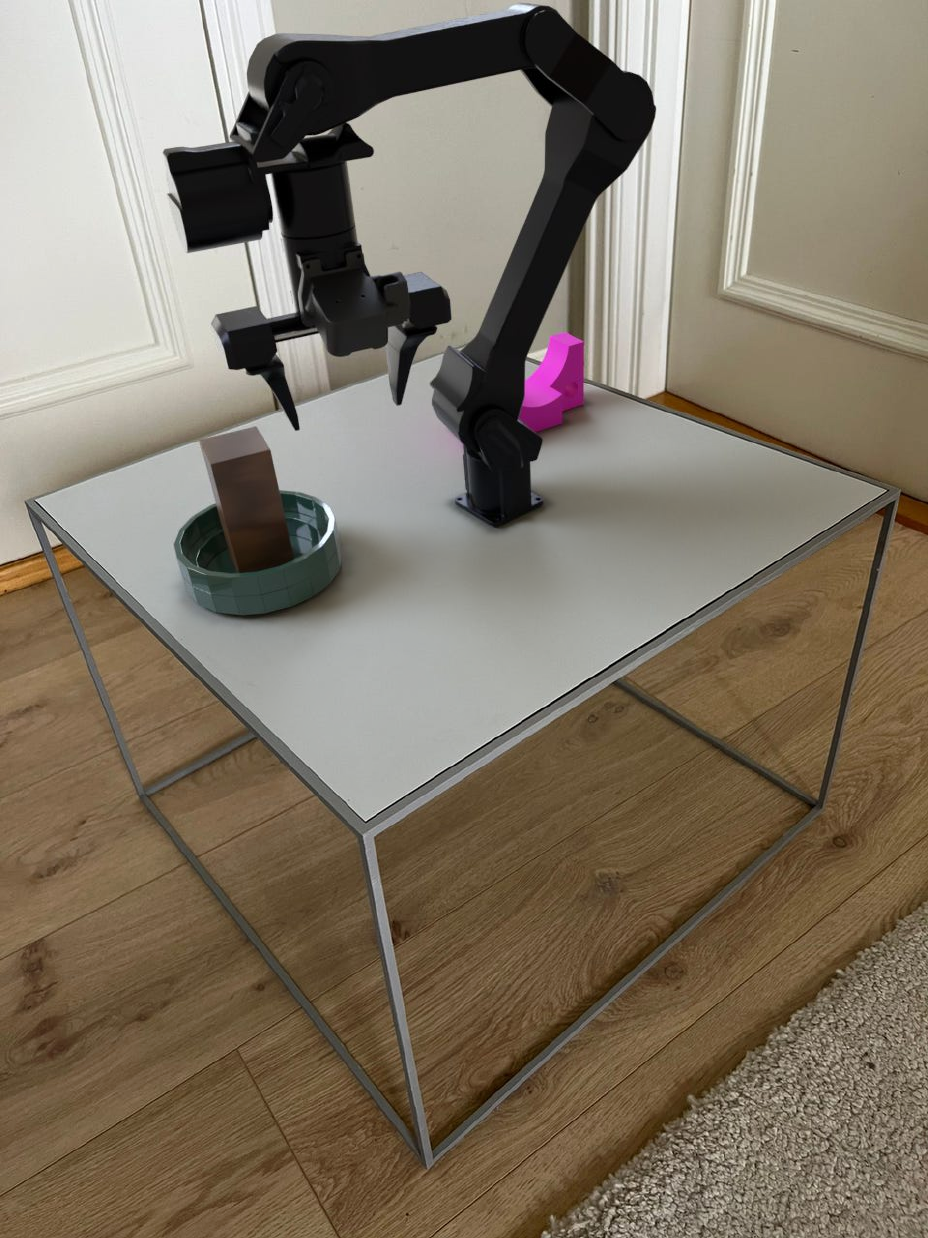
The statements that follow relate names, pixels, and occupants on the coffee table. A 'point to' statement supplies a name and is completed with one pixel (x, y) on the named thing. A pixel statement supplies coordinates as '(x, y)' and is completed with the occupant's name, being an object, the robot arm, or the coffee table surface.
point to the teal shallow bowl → (267, 589)
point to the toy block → (555, 383)
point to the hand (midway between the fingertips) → (347, 416)
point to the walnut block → (248, 500)
